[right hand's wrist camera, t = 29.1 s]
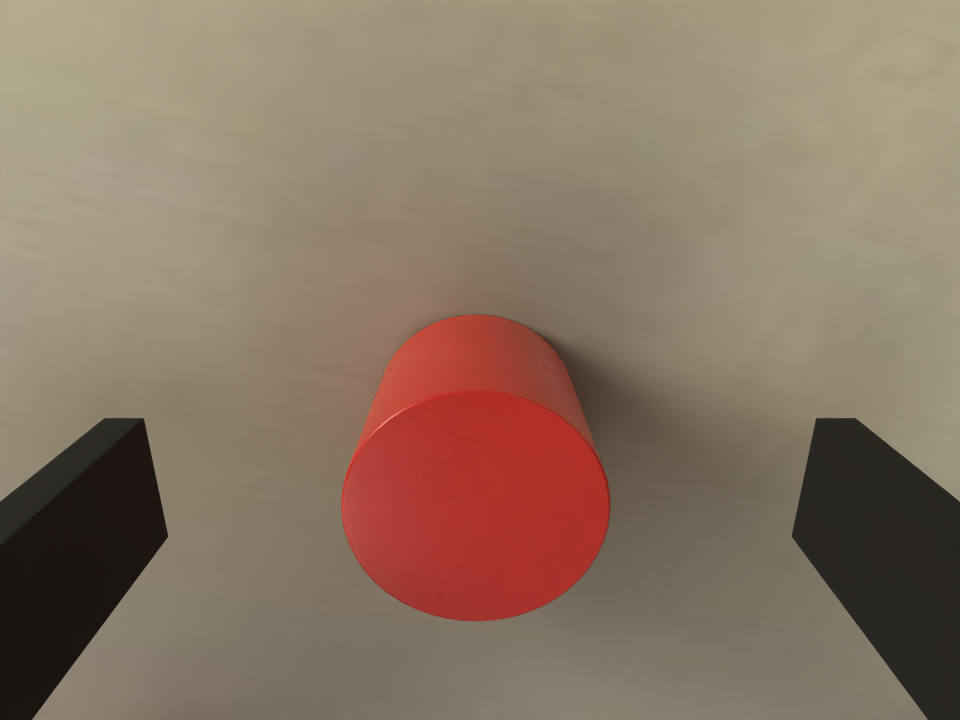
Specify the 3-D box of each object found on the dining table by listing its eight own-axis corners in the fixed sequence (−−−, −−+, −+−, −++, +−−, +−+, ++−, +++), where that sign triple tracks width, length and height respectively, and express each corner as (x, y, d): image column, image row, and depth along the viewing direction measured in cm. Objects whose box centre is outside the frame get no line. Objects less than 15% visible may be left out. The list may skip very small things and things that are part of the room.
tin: (513, 276, 15) (528, 339, 10) (607, 438, 16) (655, 554, 12) (339, 376, 16) (285, 473, 11) (444, 522, 17) (432, 659, 13)
